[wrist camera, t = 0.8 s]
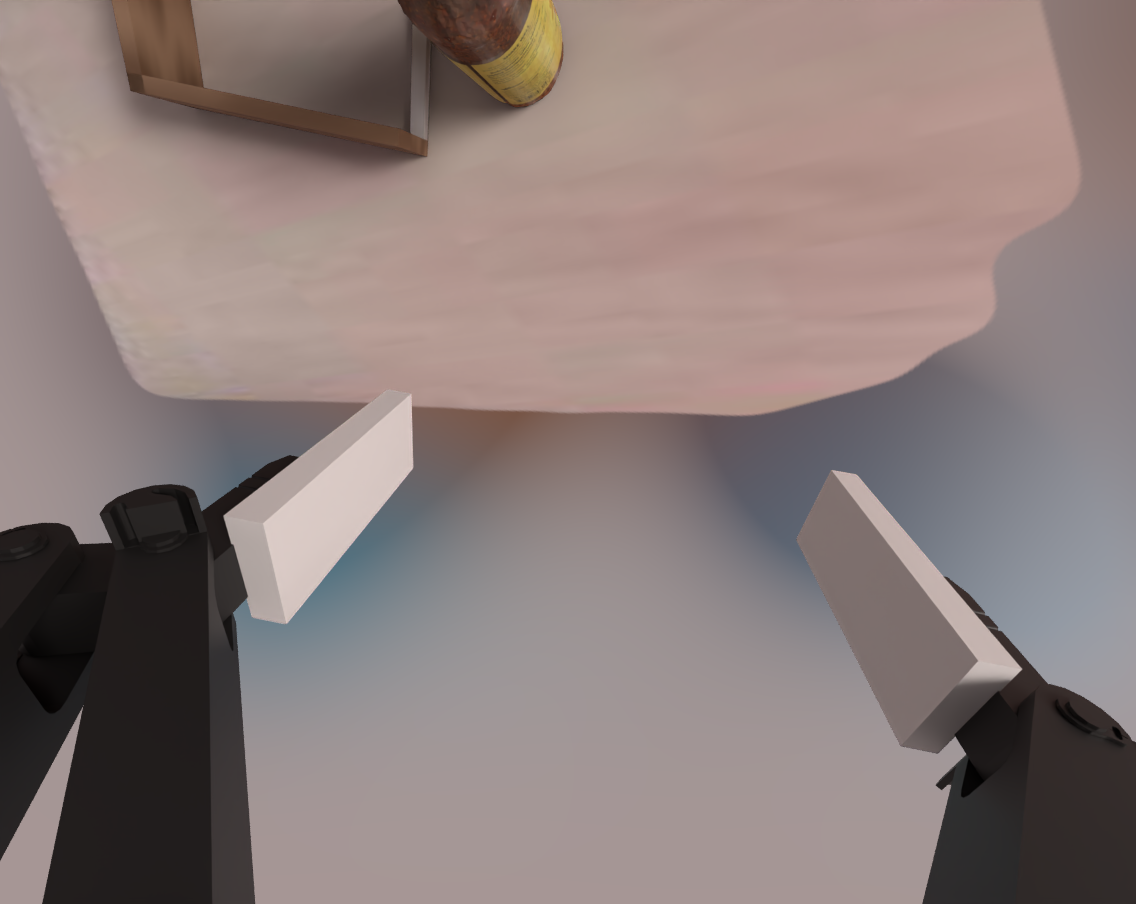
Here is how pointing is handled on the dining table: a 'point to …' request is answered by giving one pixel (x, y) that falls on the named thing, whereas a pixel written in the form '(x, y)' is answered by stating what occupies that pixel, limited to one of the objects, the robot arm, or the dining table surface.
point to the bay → (172, 72)
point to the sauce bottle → (496, 43)
